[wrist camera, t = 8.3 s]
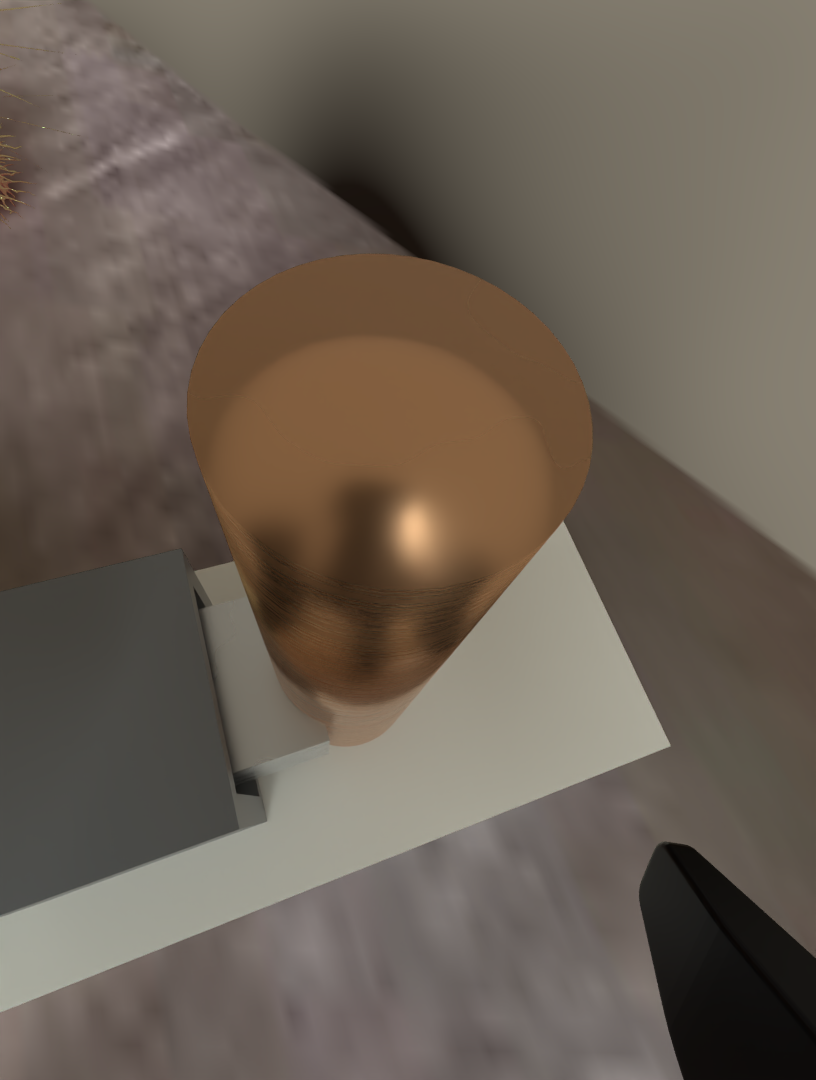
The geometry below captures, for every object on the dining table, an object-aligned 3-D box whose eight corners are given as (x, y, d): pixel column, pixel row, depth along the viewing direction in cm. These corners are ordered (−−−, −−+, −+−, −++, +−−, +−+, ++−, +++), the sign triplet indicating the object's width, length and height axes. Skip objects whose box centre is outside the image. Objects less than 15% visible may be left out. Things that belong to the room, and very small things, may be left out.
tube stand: (534, 500, 21) (616, 380, 15) (649, 749, 18) (810, 721, 12) (-349, 725, 15) (-793, 672, 9) (-410, 1168, 12) (-1161, 1539, 6)
